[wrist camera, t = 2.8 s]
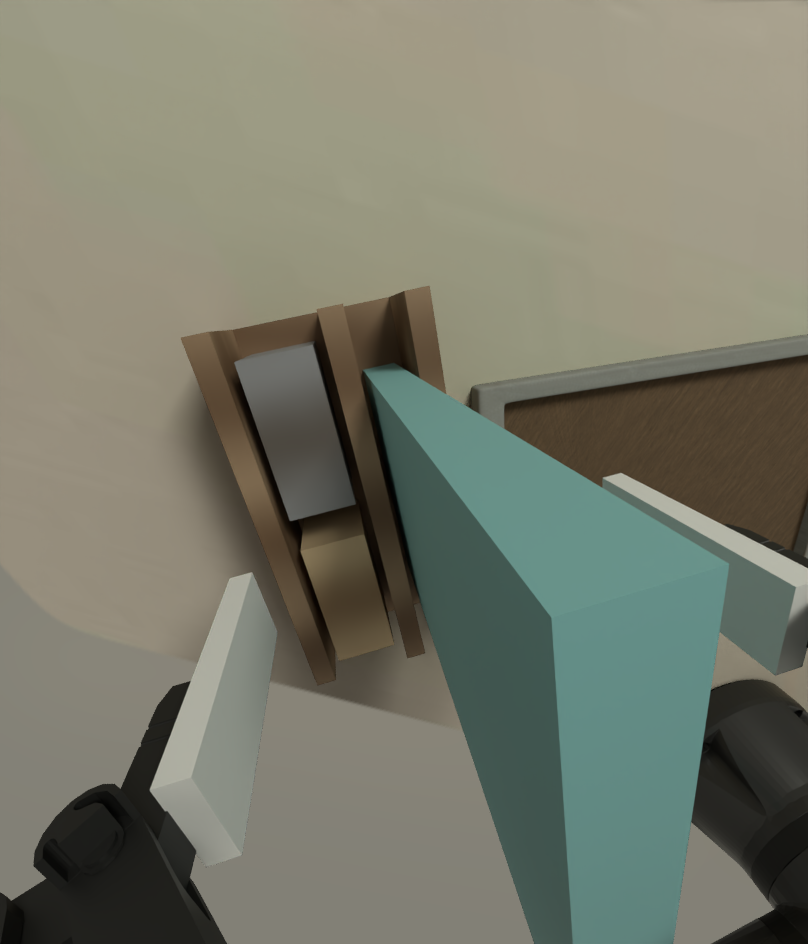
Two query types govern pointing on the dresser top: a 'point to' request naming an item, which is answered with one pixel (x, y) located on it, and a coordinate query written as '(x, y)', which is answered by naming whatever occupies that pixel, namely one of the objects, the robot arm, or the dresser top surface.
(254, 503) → the rack
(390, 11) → the dresser top surface
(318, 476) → the offcut charcoal
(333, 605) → the offcut oak
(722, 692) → the robot arm
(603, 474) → the framed cork board
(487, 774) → the teal rectangular slab
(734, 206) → the dresser top surface
